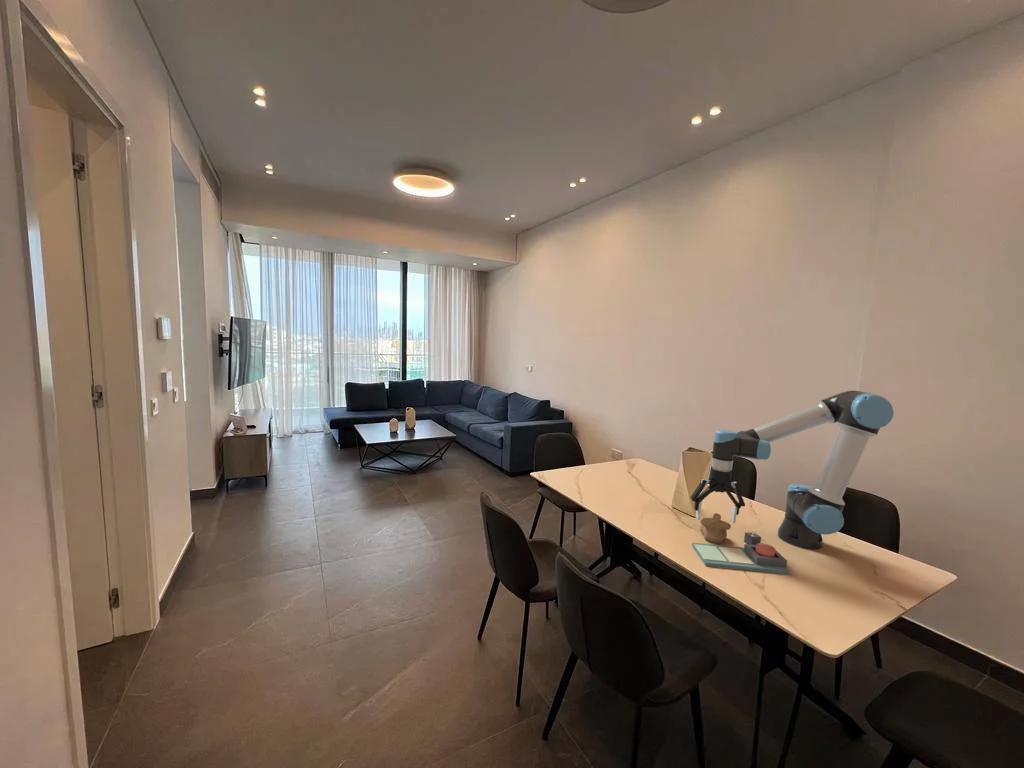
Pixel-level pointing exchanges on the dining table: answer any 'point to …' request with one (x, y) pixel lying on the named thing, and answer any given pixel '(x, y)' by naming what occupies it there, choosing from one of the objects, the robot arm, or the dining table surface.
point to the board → (740, 558)
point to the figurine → (714, 528)
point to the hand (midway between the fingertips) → (715, 520)
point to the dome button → (765, 550)
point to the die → (752, 538)
